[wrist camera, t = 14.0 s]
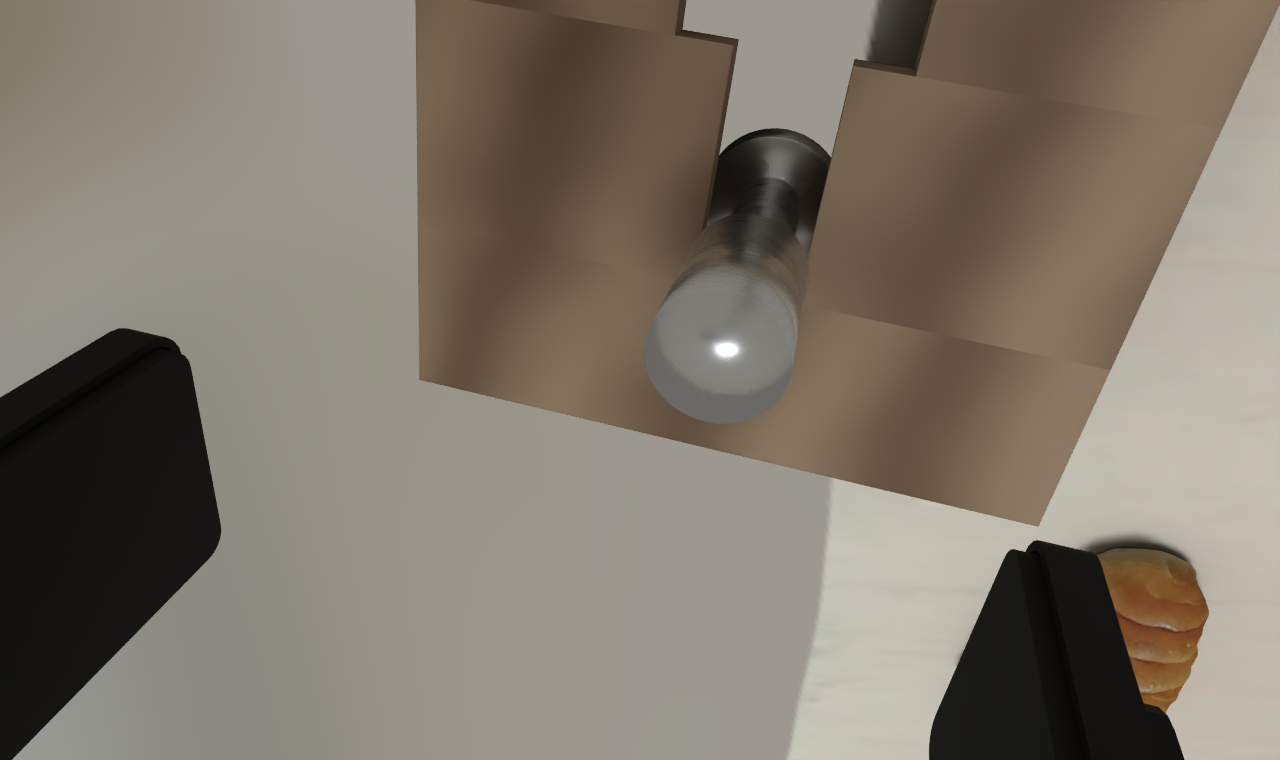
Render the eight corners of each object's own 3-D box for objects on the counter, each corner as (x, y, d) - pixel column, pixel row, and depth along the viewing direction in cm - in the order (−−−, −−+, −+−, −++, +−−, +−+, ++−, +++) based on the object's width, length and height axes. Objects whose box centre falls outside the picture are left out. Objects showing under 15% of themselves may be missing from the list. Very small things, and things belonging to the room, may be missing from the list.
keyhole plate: (1356, -378, 19) (1489, -450, 15) (1016, 437, 31) (1037, 526, 26) (499, -458, 22) (409, -538, 18) (477, 316, 33) (419, 379, 29)
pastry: (1072, 503, 32) (1095, 575, 28) (1252, 573, 31) (1295, 653, 28) (948, 666, 37) (956, 742, 33) (1103, 726, 36) (1125, 809, 33)
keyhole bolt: (857, 142, 27) (843, 288, 17) (824, 272, 29) (797, 466, 20) (718, 116, 28) (629, 244, 18) (696, 245, 30) (607, 421, 20)
